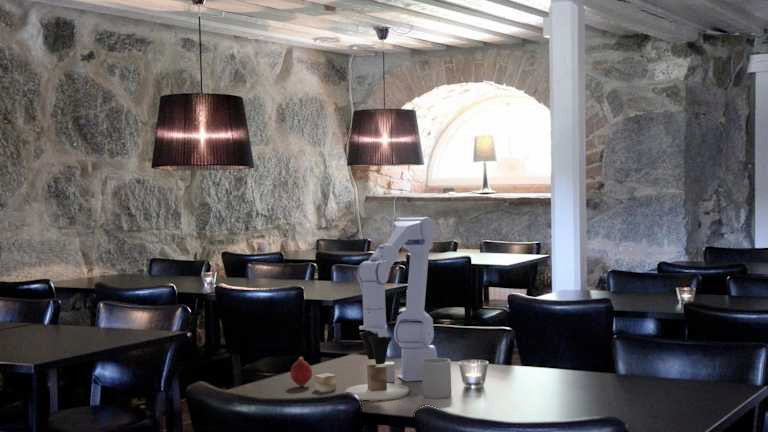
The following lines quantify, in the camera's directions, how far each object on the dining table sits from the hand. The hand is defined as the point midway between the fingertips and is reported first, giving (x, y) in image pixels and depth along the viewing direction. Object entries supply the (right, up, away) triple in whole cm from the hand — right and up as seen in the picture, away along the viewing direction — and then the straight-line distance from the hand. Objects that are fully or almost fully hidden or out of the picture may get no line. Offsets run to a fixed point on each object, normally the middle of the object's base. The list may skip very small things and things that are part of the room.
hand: (376, 361), depth 250 cm
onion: (-20, -9, +13) cm, 26 cm away
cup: (+16, -8, -4) cm, 18 cm away
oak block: (-13, -9, +8) cm, 18 cm away
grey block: (+3, -8, +17) cm, 18 cm away
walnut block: (0, -7, 0) cm, 7 cm away
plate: (0, -8, 0) cm, 8 cm away
